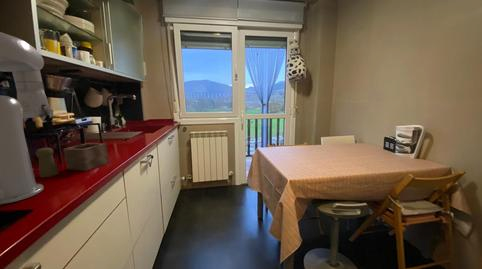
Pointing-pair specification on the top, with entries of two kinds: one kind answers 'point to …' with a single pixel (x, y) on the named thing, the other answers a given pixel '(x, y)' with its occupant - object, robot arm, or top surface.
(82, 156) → the walnut box
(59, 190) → the top surface
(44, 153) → the cork
